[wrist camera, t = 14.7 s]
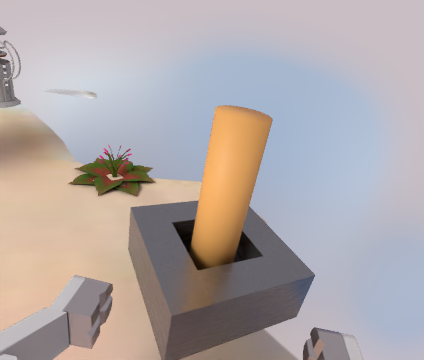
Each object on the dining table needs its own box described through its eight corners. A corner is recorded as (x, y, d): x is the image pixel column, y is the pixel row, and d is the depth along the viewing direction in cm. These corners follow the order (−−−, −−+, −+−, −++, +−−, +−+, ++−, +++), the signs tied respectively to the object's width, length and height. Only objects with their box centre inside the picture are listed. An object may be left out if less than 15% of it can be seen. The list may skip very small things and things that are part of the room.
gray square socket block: (128, 248, 29) (130, 207, 27) (231, 232, 34) (239, 196, 32) (163, 364, 20) (171, 316, 18) (296, 316, 25) (315, 275, 23)
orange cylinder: (176, 276, 27) (203, 106, 20) (207, 259, 30) (241, 104, 22) (204, 306, 25) (247, 125, 17) (235, 285, 27) (283, 120, 20)
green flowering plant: (50, 191, 36) (47, 158, 34) (91, 155, 47) (91, 129, 45) (144, 209, 36) (147, 177, 34) (164, 169, 47) (167, 143, 45)
